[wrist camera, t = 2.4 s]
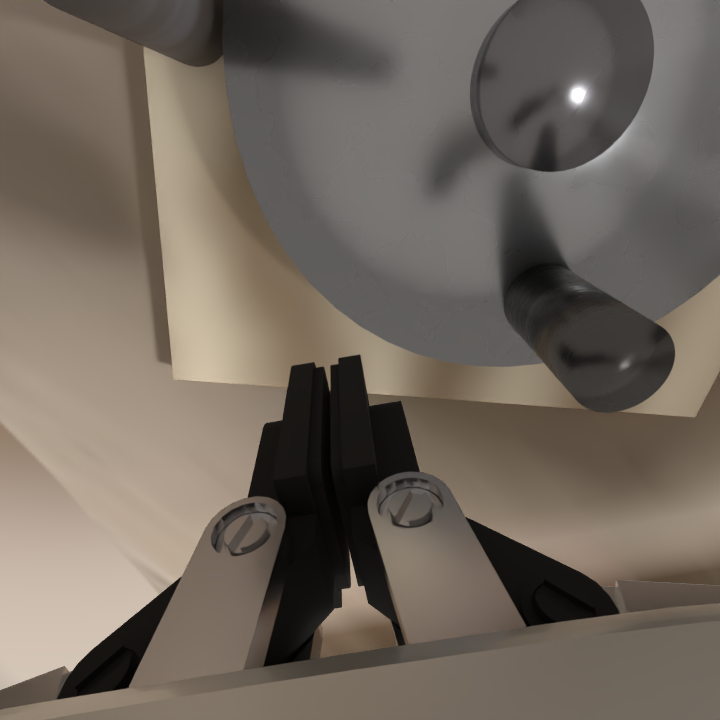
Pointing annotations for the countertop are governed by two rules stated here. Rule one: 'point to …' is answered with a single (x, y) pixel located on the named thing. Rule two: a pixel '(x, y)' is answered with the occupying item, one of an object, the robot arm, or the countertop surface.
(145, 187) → the countertop surface
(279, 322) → the base board
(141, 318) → the countertop surface
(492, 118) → the flange plate
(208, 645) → the robot arm
